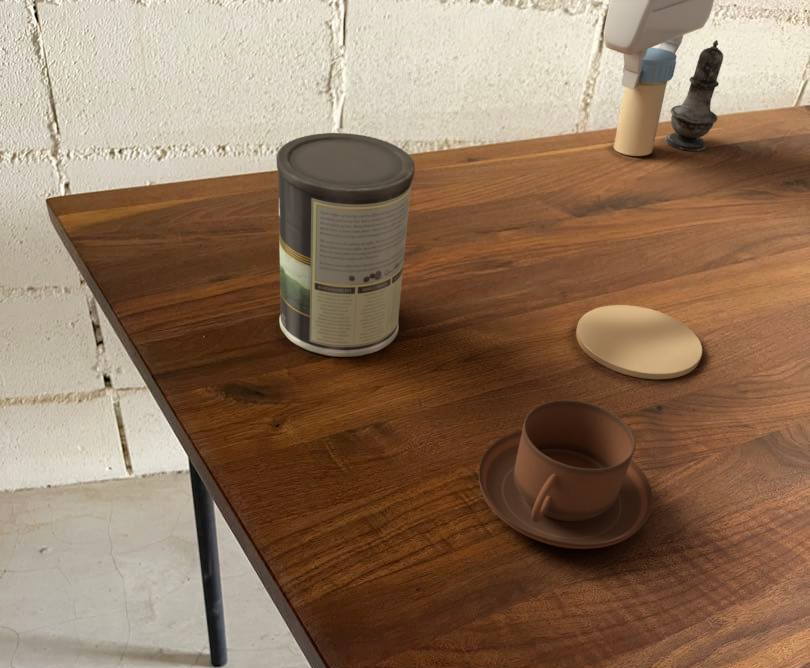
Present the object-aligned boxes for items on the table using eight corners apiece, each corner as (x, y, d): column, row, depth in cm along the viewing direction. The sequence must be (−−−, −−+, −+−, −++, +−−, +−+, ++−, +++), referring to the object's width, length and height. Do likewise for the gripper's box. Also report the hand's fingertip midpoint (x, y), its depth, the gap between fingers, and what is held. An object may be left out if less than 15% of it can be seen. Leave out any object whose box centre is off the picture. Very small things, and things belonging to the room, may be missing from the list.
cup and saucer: (646, 580, 57) (675, 510, 53) (464, 545, 58) (478, 474, 54) (643, 464, 66) (668, 396, 62) (484, 435, 67) (498, 366, 62)
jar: (659, 148, 110) (678, 60, 104) (641, 159, 108) (659, 69, 101) (625, 139, 113) (641, 52, 106) (606, 149, 110) (622, 60, 103)
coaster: (720, 344, 79) (723, 338, 79) (665, 396, 73) (667, 389, 72) (613, 297, 83) (615, 291, 83) (552, 342, 77) (553, 335, 76)
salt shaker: (655, 142, 113) (684, 38, 104) (672, 130, 116) (702, 29, 108) (698, 156, 111) (731, 51, 102) (714, 143, 114) (748, 41, 106)
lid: (637, 65, 107) (641, 44, 106) (680, 75, 105) (685, 54, 103) (613, 75, 104) (617, 53, 102) (658, 86, 101) (663, 64, 100)
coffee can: (255, 333, 74) (249, 163, 64) (317, 282, 81) (320, 121, 71) (364, 372, 71) (375, 201, 61) (419, 316, 78) (437, 154, 68)
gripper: (697, -73, 102) (659, 56, 112) (612, -55, 90) (578, 89, 100) (747, -59, 100) (704, 72, 110) (667, -38, 88) (626, 107, 98)
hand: (643, 80), depth 105 cm, fingers closed on lid, 5 cm apart
